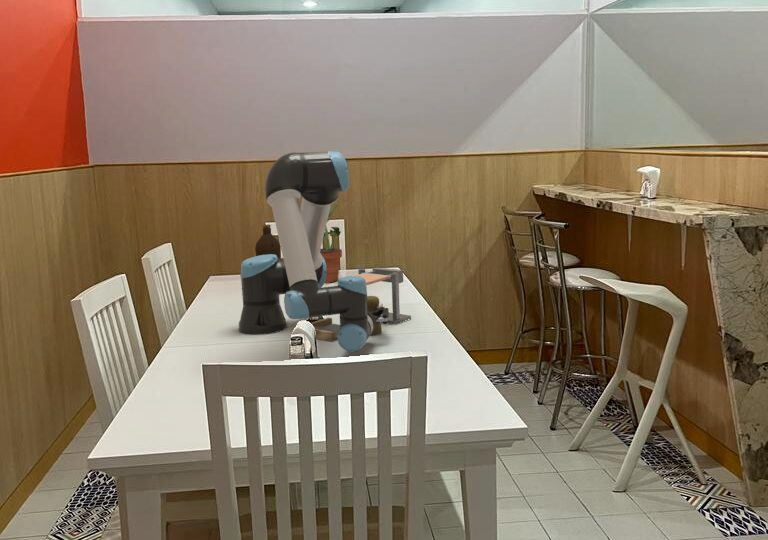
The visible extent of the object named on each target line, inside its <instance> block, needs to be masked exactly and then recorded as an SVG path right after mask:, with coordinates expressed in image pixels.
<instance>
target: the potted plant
mask: <svg viewBox="0 0 768 540" xmlns="http://www.w3.org/2000/svg"><path fill="white" fill-rule="evenodd" d="M337 207H338V204H335V205H334V204H333V205H331V206H330V210H329V215H328V219H327V223H328V222H329V221H330V219H331V218H332V215H333V213H334V212H335V210H336V209H337ZM341 233H342V232H341V230H340V228H339V227H338V226H330V230H329V231H328V228H327V225H326V228H325V232H324V236H323V237H324V238H325V248H321V249H320V254H321V255H322V257H323V258H324V260H325V262H326V267H327V271H326V280H325V283H324V284H330V283H334V282H338V280H339V272H340V263H341V261H340V259H341V258H342V256H343V250H342V249H340V248H334V247H333V244H334V238H335V237H336V236H338V237H339V236H340V235H341ZM330 237H332V240H331V243H330Z"/></svg>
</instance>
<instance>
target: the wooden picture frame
mask: <svg viewBox="0 0 768 540" xmlns="http://www.w3.org/2000/svg"><path fill="white" fill-rule="evenodd" d="M311 323H312V324H313V325H314V327H315V331H316V338H318V339H317V340H322V341H327V342H336V341H337V340H336V337H335V332H331V331H325V330H320V329H318V328H321V327H324V326H327V325H331V324H333V318H332V317H330V316H329V317H326V318H322V319H319V320H316V321H313V322H311ZM316 338H315V339H316Z"/></svg>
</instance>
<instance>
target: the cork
mask: <svg viewBox="0 0 768 540" xmlns="http://www.w3.org/2000/svg"><path fill="white" fill-rule="evenodd" d="M379 304H380V299H379V297H378V296H376V295H367V311H369V312H371V311H372V312H374V311H375V310H377V307H378V306H379ZM381 324H382V323H380V322H379V323H378V324H376V326H375V328H374V330H373V332H372V333H371V334H370V335H375V334H380V333H381V332H382V325H381Z"/></svg>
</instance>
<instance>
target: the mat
mask: <svg viewBox="0 0 768 540" xmlns="http://www.w3.org/2000/svg"><path fill="white" fill-rule="evenodd" d="M318 329H320V330H325V331H331V332H335V337H336V340H335V341H338V333H339V330H340V324H336V323H332V324H331V325H327V326H324V327H321V328H318Z"/></svg>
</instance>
